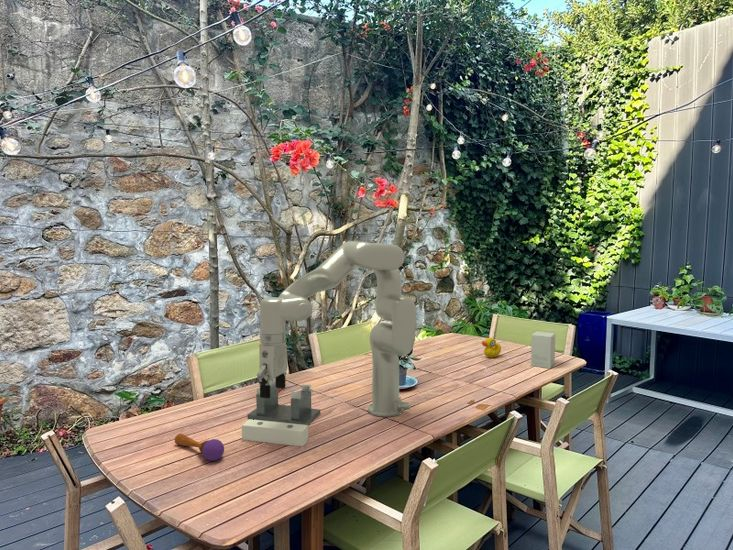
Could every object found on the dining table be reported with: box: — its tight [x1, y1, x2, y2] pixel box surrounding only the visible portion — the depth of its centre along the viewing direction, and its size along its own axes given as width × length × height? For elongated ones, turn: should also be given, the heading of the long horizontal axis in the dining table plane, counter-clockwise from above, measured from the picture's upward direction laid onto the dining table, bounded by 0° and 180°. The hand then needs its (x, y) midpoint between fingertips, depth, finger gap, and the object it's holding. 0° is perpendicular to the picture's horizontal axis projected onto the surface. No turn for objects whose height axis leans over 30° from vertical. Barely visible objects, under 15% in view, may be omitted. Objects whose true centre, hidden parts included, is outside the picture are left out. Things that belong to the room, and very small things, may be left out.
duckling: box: [481, 337, 502, 359], centre depth 256 cm, size 11×5×10 cm, turn 118°
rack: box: [246, 381, 321, 426], centre depth 181 cm, size 22×12×10 cm, turn 72°
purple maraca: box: [174, 433, 225, 462], centre depth 153 cm, size 6×6×20 cm
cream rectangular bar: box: [241, 419, 309, 447], centre depth 162 cm, size 20×5×5 cm, turn 76°
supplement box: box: [530, 330, 556, 369], centre depth 243 cm, size 9×9×15 cm
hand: (273, 392), depth 160 cm, fingers open, 9 cm apart
